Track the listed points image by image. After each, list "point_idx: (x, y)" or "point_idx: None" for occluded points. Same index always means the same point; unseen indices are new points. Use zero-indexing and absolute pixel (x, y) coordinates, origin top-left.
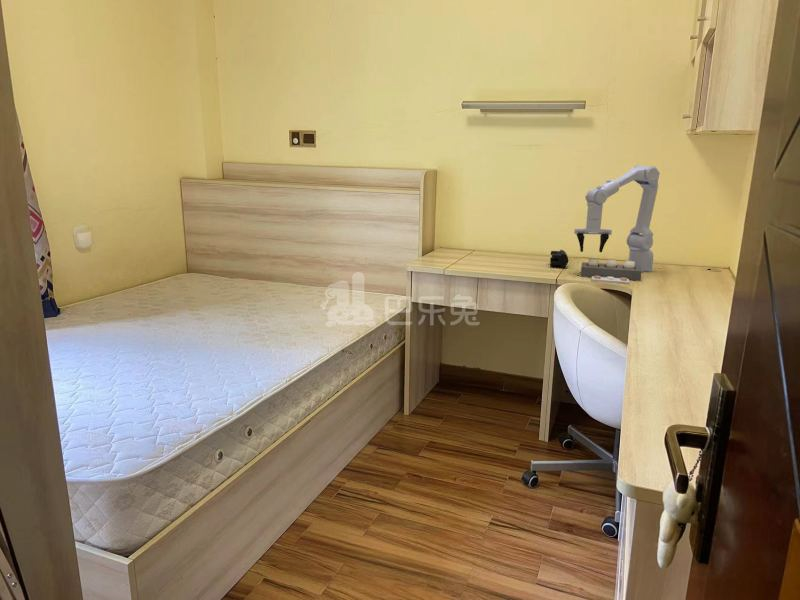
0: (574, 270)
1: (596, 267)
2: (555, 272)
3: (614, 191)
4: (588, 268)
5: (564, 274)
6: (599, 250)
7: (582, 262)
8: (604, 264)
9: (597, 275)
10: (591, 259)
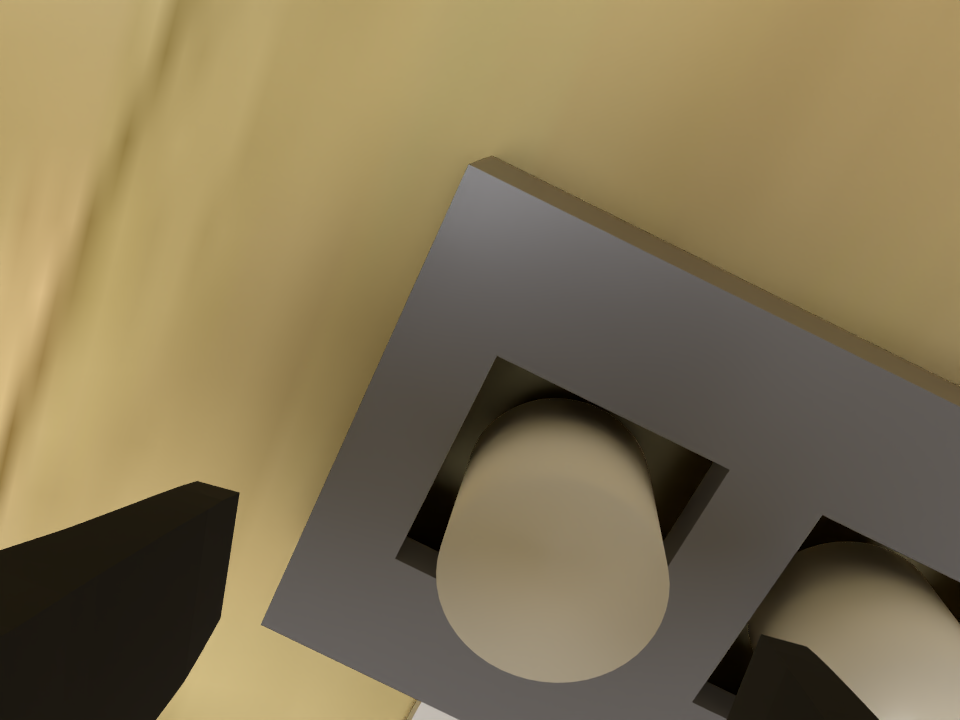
0: (394, 63)
1: (521, 702)
2: (12, 210)
3: None
4: (380, 665)
5: (120, 370)
6: (762, 674)
7: (454, 215)
8: (850, 474)
9: None
10: (486, 598)
